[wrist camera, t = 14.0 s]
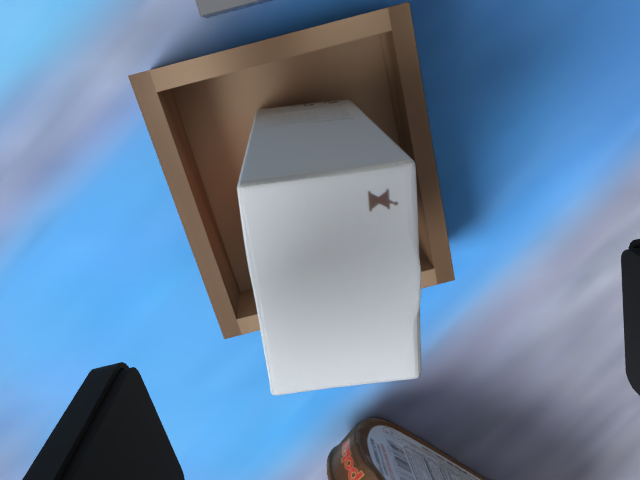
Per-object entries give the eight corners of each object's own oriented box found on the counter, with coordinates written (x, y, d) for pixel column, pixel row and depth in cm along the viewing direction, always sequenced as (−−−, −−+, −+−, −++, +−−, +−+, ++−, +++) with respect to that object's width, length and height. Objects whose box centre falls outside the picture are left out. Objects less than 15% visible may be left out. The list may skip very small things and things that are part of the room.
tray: (389, 7, 22) (409, 1, 19) (432, 250, 27) (454, 280, 23) (149, 70, 23) (128, 75, 19) (230, 302, 27) (224, 339, 24)
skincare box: (252, 108, 23) (231, 176, 12) (350, 97, 23) (423, 155, 12) (271, 238, 25) (268, 402, 14) (360, 228, 25) (429, 381, 14)
